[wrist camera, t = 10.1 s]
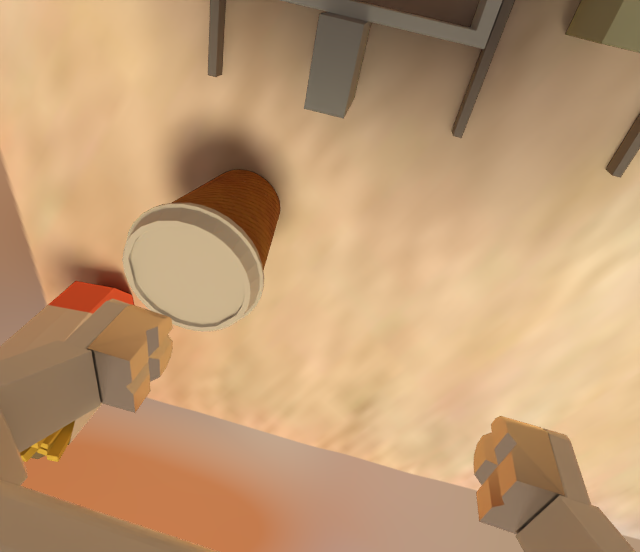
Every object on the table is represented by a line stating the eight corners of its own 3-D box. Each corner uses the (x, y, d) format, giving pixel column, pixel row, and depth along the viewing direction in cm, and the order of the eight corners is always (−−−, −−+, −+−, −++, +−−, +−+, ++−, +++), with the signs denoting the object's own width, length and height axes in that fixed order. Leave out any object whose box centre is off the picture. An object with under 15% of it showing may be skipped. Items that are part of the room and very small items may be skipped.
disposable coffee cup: (219, 126, 33) (140, 181, 24) (319, 193, 35) (284, 271, 25) (177, 213, 39) (99, 288, 29) (266, 268, 40) (220, 357, 30)
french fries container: (131, 275, 44) (-10, 417, 29) (146, 350, 50) (37, 499, 35) (90, 267, 44) (-70, 404, 29) (110, 343, 50) (-13, 487, 36)
